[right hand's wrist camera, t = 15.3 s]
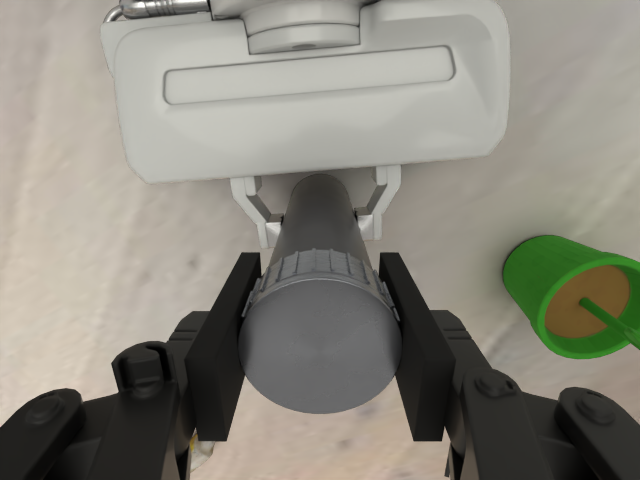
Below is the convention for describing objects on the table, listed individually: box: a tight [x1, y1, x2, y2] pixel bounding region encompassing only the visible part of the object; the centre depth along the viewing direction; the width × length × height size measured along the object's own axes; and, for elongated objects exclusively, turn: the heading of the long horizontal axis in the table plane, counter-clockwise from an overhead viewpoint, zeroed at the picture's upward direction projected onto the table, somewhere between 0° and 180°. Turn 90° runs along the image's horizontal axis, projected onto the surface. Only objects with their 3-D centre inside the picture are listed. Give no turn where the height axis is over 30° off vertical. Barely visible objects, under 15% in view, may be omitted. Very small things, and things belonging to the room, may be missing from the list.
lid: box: [238, 248, 403, 414], centre depth 11 cm, size 5×5×2 cm
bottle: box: [269, 174, 373, 270], centre depth 19 cm, size 5×5×17 cm
